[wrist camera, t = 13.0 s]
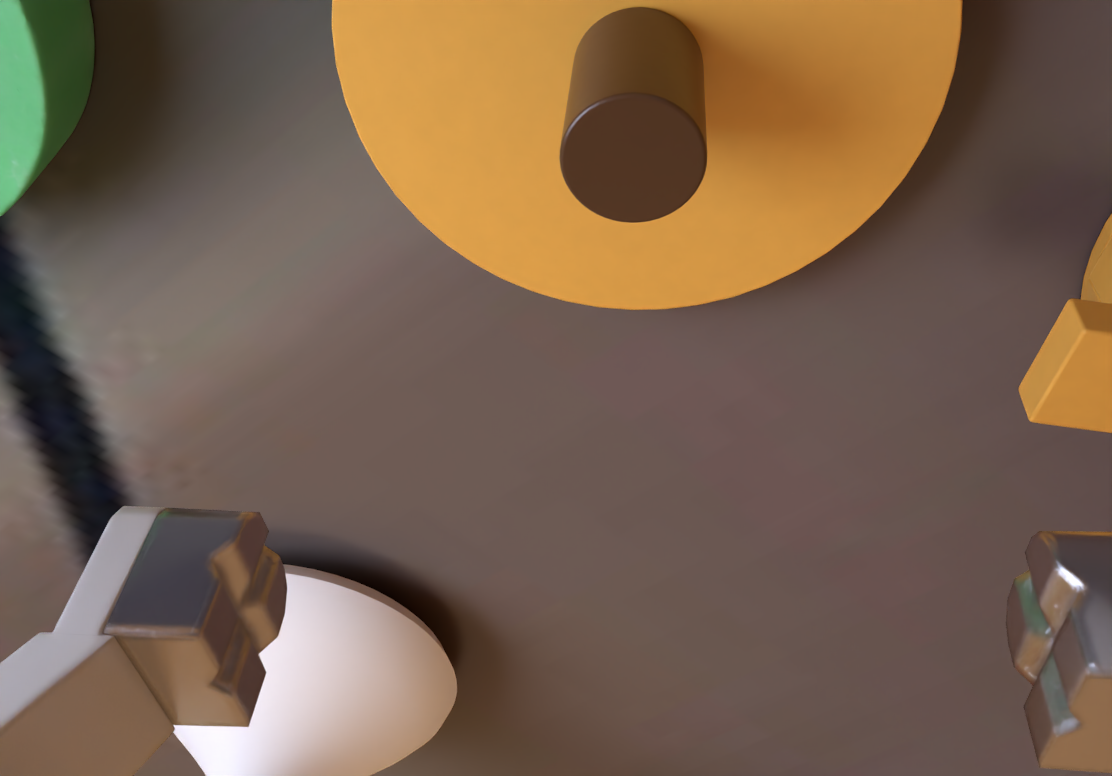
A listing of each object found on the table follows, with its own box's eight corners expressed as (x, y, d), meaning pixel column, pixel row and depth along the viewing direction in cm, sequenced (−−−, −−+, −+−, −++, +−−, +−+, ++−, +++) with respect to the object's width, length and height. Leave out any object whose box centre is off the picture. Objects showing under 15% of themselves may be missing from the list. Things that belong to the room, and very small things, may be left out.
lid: (330, -358, 18) (246, -301, 14) (1060, -257, 18) (1155, -175, 14) (354, 245, 26) (304, 374, 22) (845, 310, 26) (872, 449, 23)
